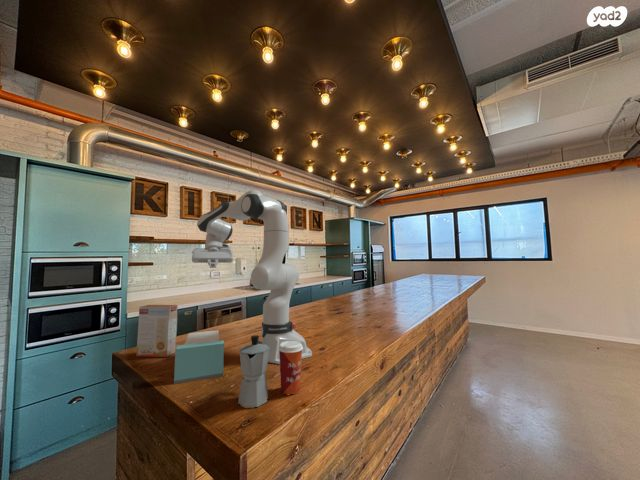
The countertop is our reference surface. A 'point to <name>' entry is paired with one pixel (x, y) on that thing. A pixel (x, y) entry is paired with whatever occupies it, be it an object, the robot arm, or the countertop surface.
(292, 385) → the paper cup
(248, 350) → the coffee maker
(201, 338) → the stone slab
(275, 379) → the countertop surface
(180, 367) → the rectangular block
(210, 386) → the countertop surface
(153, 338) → the cracker box
